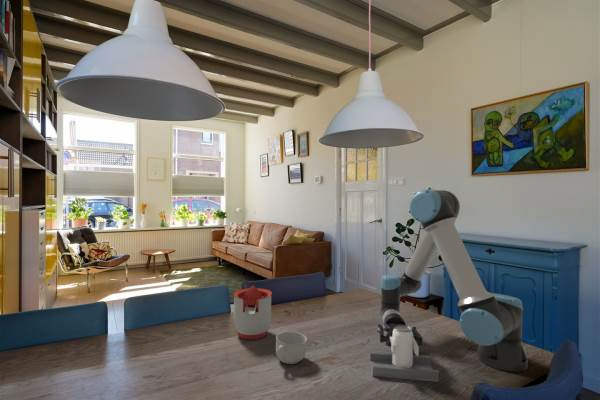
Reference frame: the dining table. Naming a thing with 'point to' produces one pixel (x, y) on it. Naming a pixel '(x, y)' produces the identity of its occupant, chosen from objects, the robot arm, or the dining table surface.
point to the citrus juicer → (252, 312)
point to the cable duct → (418, 371)
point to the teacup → (290, 347)
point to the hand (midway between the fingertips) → (405, 350)
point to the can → (403, 346)
